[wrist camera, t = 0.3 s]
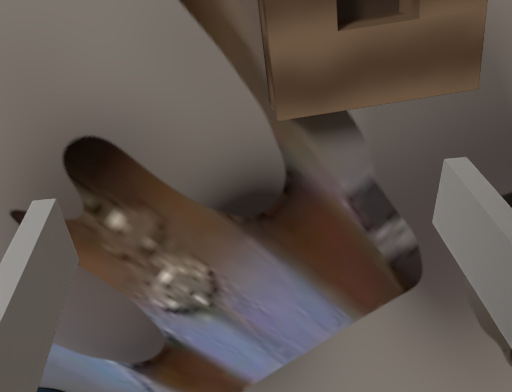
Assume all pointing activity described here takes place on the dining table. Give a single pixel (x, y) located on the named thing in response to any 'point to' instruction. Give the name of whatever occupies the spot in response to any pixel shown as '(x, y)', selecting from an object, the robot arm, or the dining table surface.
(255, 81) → the dining table surface
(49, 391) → the canister
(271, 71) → the socket block
